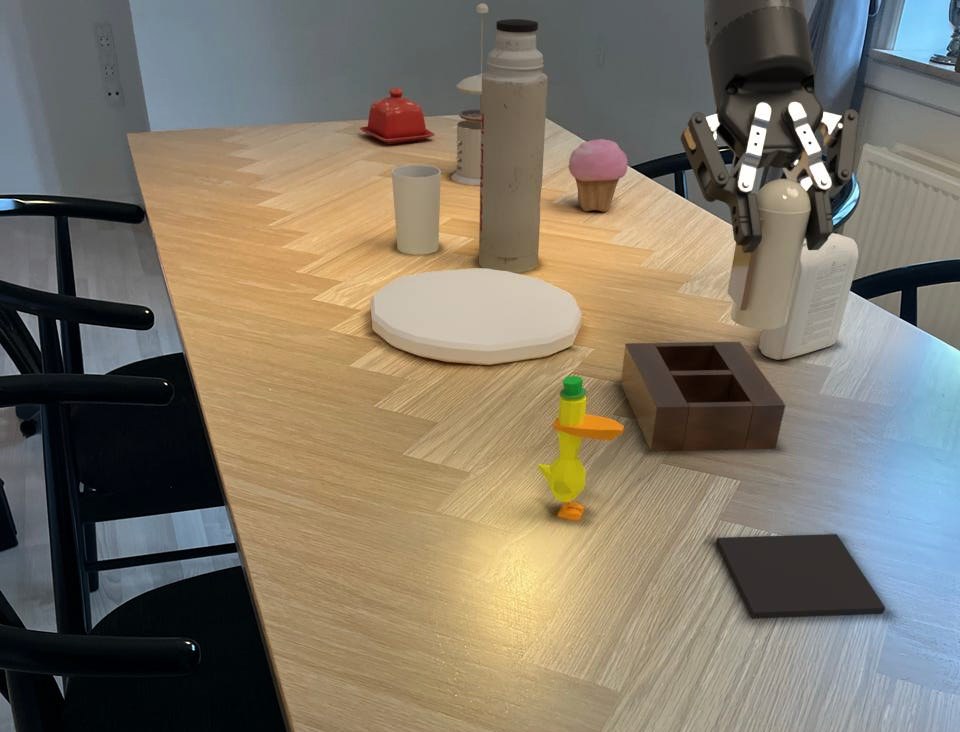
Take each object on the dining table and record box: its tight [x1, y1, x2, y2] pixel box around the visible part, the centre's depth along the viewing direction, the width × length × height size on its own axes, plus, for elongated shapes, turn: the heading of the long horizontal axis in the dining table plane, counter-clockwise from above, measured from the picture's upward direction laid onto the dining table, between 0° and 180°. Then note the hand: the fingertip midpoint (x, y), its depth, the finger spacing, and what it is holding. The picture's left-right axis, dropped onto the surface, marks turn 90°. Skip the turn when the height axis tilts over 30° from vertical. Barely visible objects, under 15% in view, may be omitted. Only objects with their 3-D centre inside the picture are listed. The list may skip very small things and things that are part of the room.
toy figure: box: [536, 375, 625, 521], centre depth 79 cm, size 7×4×12 cm, turn 76°
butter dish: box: [359, 87, 436, 145], centre depth 185 cm, size 12×12×8 cm
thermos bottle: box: [478, 18, 549, 274], centre depth 123 cm, size 8×8×28 cm
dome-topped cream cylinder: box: [726, 178, 811, 330], centre depth 77 cm, size 5×4×11 cm
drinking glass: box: [391, 164, 442, 255], centre depth 133 cm, size 7×7×10 cm
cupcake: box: [568, 138, 628, 213], centre depth 149 cm, size 9×9×10 cm
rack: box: [620, 341, 786, 453], centre depth 96 cm, size 12×15×4 cm
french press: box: [450, 3, 489, 186], centre depth 159 cm, size 10×12×25 cm
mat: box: [715, 533, 886, 619], centre depth 76 cm, size 10×10×1 cm
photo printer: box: [758, 232, 859, 361], centre depth 107 cm, size 10×4×12 cm, turn 125°
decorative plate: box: [370, 267, 583, 366], centre depth 114 cm, size 25×4×25 cm
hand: (785, 245), depth 74 cm, fingers closed on dome-topped cream cylinder, 4 cm apart
